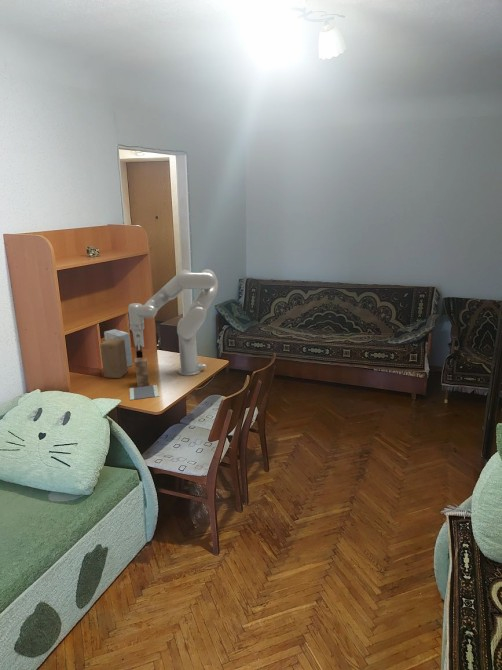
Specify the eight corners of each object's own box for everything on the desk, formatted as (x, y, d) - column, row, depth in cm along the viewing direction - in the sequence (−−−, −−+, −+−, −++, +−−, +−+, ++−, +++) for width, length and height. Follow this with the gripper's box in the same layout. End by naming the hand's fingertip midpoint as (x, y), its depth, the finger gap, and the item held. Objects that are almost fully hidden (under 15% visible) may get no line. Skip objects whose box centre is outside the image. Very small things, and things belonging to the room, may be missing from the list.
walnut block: (148, 381, 246) (146, 357, 242) (149, 385, 240) (146, 360, 236) (137, 382, 244) (134, 358, 240) (137, 387, 239) (134, 362, 235)
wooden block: (120, 379, 250) (116, 344, 244) (103, 377, 252) (99, 343, 246) (128, 372, 259) (124, 338, 253) (112, 371, 261) (108, 337, 255)
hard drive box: (133, 365, 269) (129, 333, 263) (122, 369, 263) (118, 336, 257) (118, 359, 279) (114, 328, 272) (107, 363, 273) (103, 331, 267)
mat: (157, 385, 240) (157, 384, 240) (159, 396, 228) (158, 395, 227) (129, 388, 237) (129, 388, 237) (130, 400, 224) (130, 399, 224)
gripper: (144, 329, 241) (147, 362, 246) (143, 322, 255) (146, 353, 260) (130, 330, 239) (133, 363, 244) (129, 323, 253) (132, 354, 258)
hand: (139, 358), depth 252 cm, fingers closed
